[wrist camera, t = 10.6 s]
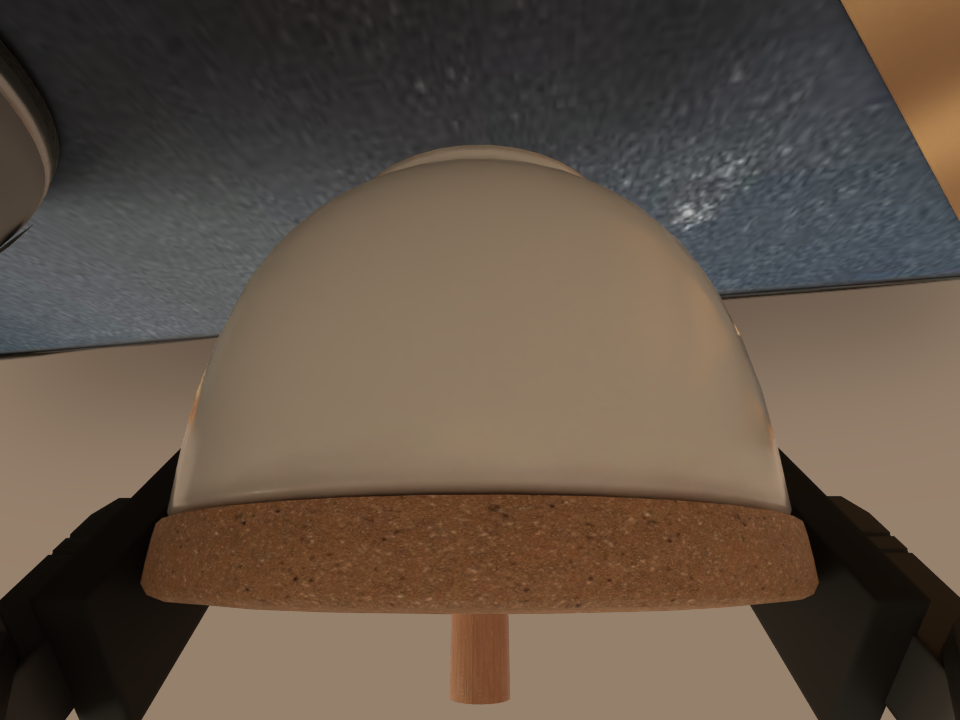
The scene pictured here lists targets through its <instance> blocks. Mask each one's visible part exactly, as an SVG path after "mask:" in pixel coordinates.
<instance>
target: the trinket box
mask: <svg viewBox="0 0 960 720" xmlns="http://www.w3.org/2000/svg"><path fill="white" fill-rule="evenodd" d="M791 510H792V509H791V505H790V500H789V496H788V491H787V487H786V482H785V478H784V473H783V469H782V464H781V460H780V455H779V451H778V446H777V442H776V439H775V435H774V432H773V428H772V425H771V421H770V417H769V414H768V410H767V407H766V403H765V399H764V396H763V392H762V389H761V386H760V384H759V381H758V379H757V376H756V373H755V371H754V368H753V366H752V363H751V361H750V358H749V355H748V353H747V350H746V348H745V345H744V343H743V340H742V338H741V335H740V333H739V332H738V330H737V328H736V326H735V324H734V322H733V320H732V318H731V316H730V315H729V313H728V311H727V309H726V307H725V305H724V303H723V301H722V299H721V297H720V296H719V294H718V292H717V290H716V289H715V287H714V286H713V284H712V283H711V281H710V280H709V278H708V277H707V275H706V274H705V272H704V271H703V270H702V268H701V267H700V266H699V265H698V263H697V262H696V261H695V260H694V258H693V257H692V256H691V255H690V253H689V252H688V251H687V250H686V248H685V247H684V246H683V245H682V243H681V242H680V241H679V240H678V239H676V238H675V237H674V236H673V235H672V234H671V233H670V232H668V231H667V230H666V229H665V228H664V227H663V226H662V225H660V224H659V223H658V222H657V221H656V220H654V219H653V218H652V217H651V216H650V215H648V214H647V213H646V212H645V211H644V210H642V209H641V208H640V207H639V206H637V205H636V204H634V203H632V202H631V201H629V200H627V199H625V198H624V197H622V196H620V195H618V194H617V193H615V192H613V191H611V190H610V189H607V188H605V187H603V186H601V185H599V184H597V183H595V182H593V181H590V180H588V179H585V178H584V177H583V176H582V175H580V174H579V173H578V172H577V171H575V170H573V169H572V168H570V167H568V166H566V165H565V164H563V163H561V162H559V161H557V160H554V159H552V158H549V157H547V156H544V155H542V154H539V153H535V152H531V151H527V150H523V149H518V148H514V147H505V146H495V145H462V146H454V147H447V148H440V149H436V150H432V151H428V152H425V153H421V154H417V155H414V156H412V157H410V158H407V159H405V160H403V161H400V162H398V163H396V164H394V165H392V166H391V167H389V168H388V169H386V170H384V171H383V172H381V173H380V174H378V175H377V176H376V177H375V178H374V179H372V180H370V181H368V182H365V183H363V184H360V185H358V186H356V187H354V188H352V189H350V190H348V191H346V192H344V193H342V194H340V195H338V196H337V197H335V198H334V199H332V200H331V201H329V202H327V203H326V204H324V205H323V206H321V207H320V208H318V209H316V210H315V211H314V212H313V213H312V214H310V215H309V216H308V217H307V218H305V219H304V220H303V221H302V222H301V223H299V224H298V225H297V226H296V227H295V228H293V229H292V230H291V231H290V232H289V233H288V234H287V235H286V236H285V237H284V238H283V239H282V240H281V241H280V242H279V243H278V244H277V245H276V246H275V247H274V248H273V250H272V251H271V252H270V253H269V255H268V256H267V257H266V258H265V260H264V261H263V262H262V263H261V265H260V266H259V267H258V269H257V270H256V271H255V272H254V274H253V275H252V276H251V277H250V279H249V281H248V283H247V284H246V286H245V288H244V290H243V292H242V294H241V296H240V297H239V299H238V301H237V303H236V305H235V307H234V309H233V311H232V313H231V315H230V316H229V318H228V320H227V322H226V324H225V326H224V328H223V330H222V332H221V334H220V335H219V337H218V339H217V341H216V344H215V346H214V349H213V352H212V354H211V357H210V359H209V362H208V365H207V367H206V370H205V372H204V375H203V377H202V380H201V383H200V385H199V388H198V390H197V393H196V396H195V400H194V403H193V407H192V411H191V414H190V418H189V422H188V425H187V429H186V433H185V436H184V440H183V443H182V447H181V451H180V455H179V460H178V464H177V469H176V474H175V478H174V483H173V487H172V492H171V496H170V501H169V505H168V510H167V513H168V517H164V518H162V519H161V520H159V521H158V522H157V523H156V525H155V528H154V531H153V533H152V536H151V540H150V544H149V548H148V552H147V556H146V560H145V565H144V569H143V574H142V579H141V583H140V584H141V585H142V587H143V589H144V591H145V593H146V595H148V596H151V597H153V598H156V599H158V600H161V601H163V602H174V603H186V604H198V605H210V606H221V607H232V608H243V609H257V610H279V611H305V612H337V613H411V614H451V666H450V699H451V700H452V701H455V702H459V703H465V704H494V703H501V702H505V701H507V700H509V699H510V672H509V622H508V614H555V613H598V612H639V611H672V610H689V609H706V608H721V607H733V606H744V605H754V604H765V603H776V602H786V601H794V600H802V599H804V598H806V597H808V596H811V595H813V594H814V593H815V590H816V588H817V586H818V583H819V581H818V576H817V572H816V567H815V562H814V558H813V554H812V550H811V546H810V542H809V538H808V535H807V532H806V529H805V526H804V523H803V521H802V520H800V519H798V518H796V517H795V516H792V515H791Z"/></svg>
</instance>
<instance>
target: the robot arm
mask: <svg viewBox="0 0 960 720" xmlns="http://www.w3.org/2000/svg"><path fill="white" fill-rule="evenodd" d="M59 149H60V146H59V140H58V135H57V131H56V128H55V125H54V122H53V119H52V116H51V114H50V112H49V110H48V108H47V106H46V104H45V102H44V100H43V98H42V96H41V95H40V93H39V91H38V90H37V88H36V86H35V85H34V83H33V81H32V80H31V78H30V77H29V76H28V74H27V73H26V71H25V70H24V69H23V67H22V66H21V64H20V63H19V62H18V60H17V59H16V58H15V56H14V55H13V54H12V53H11V52H10V50H9V49H8V48H7V47H6V46H5V44H4V43H3V42H2V41H1V40H0V247H1V246H2V245H3V244H4V243H5V242H6V241H8V240H9V239H10V238H11V237H12V236H13V235H14V234H15V233H17V232H18V231H19V230H20V229H21V228H22V227H23V226H24V225H25V224H26V223H27V222H28V221H29V219H30V218H31V217H32V215H33V214H34V212H35V211H36V209H37V208H38V207H39V206H40V205H41V203H42V201H43V199H44V198H45V196H46V193H47V191H48V189H49V186H50V184H51V181H52V179H53V177H54V174H55V172H56V170H57V166H58V162H59ZM33 225H34V224H33ZM29 228H30V227H29ZM29 228H28V229H29ZM28 229H26V230H25V231H24V232H22V233H21V234H19V235H18V236H17V237H15V238H14V239H12V240H11V241H10V242H8V243H7V244H5V245H4V246H3V247H1V248H0V252H2V251H3V250H5V249H6V248H7V247H9V246H10V245H11V244H12V243H13V242H15V241H16V240H17V239H18V238H19V237H20V236H21V235H22V234H23V233H25V232H26V231H27V230H28ZM180 451H181V449H180V450H179V451H178V452H177V453H176V454H175V455H174V456H173V457H172V458H171V459H170V460H169V461H168V462H167V463H166V464H165V465H164V466H163V467H162V468H161V469H160V470H159V471H158V472H157V473H156V474H155V475H154V476H153V477H152V478H151V479H150V480H149V481H148V482H147V483H146V484H145V485H144V486H143V487H142V488H141V489H140V490H139V491H138V492H137V493H136V494H135V495H134V496H133V497H132V498H118V499H117V500H115V501H113V502H112V503H110V504H108V505H106V506H105V507H103V508H101V509H100V510H98V511H96V512H95V513H93V514H91V515H90V516H89V517H88V518H87V519H86V520H85V521H84V522H83V523H82V524H81V525H80V526H79V527H77V528H76V529H75V530H74V531H73V532H72V533H71V534H70V538H66V539H65V540H64V541H63V542H61V543H60V544H59V545H58V546H57V547H56V548H55V549H54V550H53V553H52V555H48V556H47V557H45V558H44V559H43V560H42V561H41V562H40V563H39V564H38V565H37V566H36V567H35V568H34V569H33V570H32V571H31V572H29V573H28V574H27V575H26V576H25V577H24V578H23V579H22V580H21V581H20V582H19V583H18V584H17V585H16V586H15V587H13V588H12V589H11V590H10V591H9V592H8V593H7V594H6V595H5V596H4V597H3V598H2V599H1V600H0V720H65V719H66V718H67V717H68V715H69V714H70V713H71V711H72V710H73V708H74V709H75V711H76V713H77V715H78V718H79V720H142V718H143V716H144V715H145V713H146V711H147V710H148V708H149V706H150V705H151V703H152V701H153V699H154V698H155V696H156V694H157V693H158V691H159V689H160V688H161V686H162V684H163V683H164V681H165V679H166V678H167V676H168V674H169V673H170V671H171V669H172V667H173V666H174V664H175V662H176V661H177V659H178V657H179V656H180V654H181V652H182V651H183V649H184V647H185V646H186V644H187V642H188V641H189V639H190V637H191V635H192V634H193V632H194V630H195V629H196V627H197V625H198V624H199V622H200V620H201V619H202V617H203V615H204V613H205V612H206V610H207V608H208V607H209V605H198V604H186V603H174V602H163V601H161V600H158V599H156V598H153V597H151V596H148V595H146V593H145V591H144V589H143V587H142V585H141V584H140V583H141V579H142V574H143V569H144V565H145V560H146V556H147V552H148V548H149V544H150V540H151V536H152V533H153V531H154V528H155V525H156V523H157V522H158V521H159V520H161V519H162V518H164V517H168V513H167V510H168V505H169V501H170V496H171V492H172V487H173V483H174V478H175V474H176V469H177V464H178V460H179V455H180ZM778 451H779V455H780V460H781V464H782V469H783V473H784V478H785V482H786V487H787V491H788V496H789V500H790V505H791V509H792V510H791V515H792V516H795V517H796V518H798V519H800V520H802V521H803V523H804V526H805V529H806V532H807V535H808V538H809V542H810V546H811V550H812V554H813V558H814V562H815V567H816V572H817V576H818V581H819V583H818V586H817V588H816V590H815V593H814V594H813V595H811V596H808V597H806V598H804V599H802V600H794V601H786V602H776V603H765V604H754V605H750V606H751V607H752V609H753V611H754V612H755V614H756V616H757V617H758V619H759V621H760V623H761V624H762V626H763V628H764V629H765V631H766V633H767V634H768V636H769V638H770V639H771V641H772V643H773V644H774V646H775V648H776V649H777V651H778V653H779V654H780V656H781V658H782V660H783V661H784V663H785V665H786V666H787V668H788V670H789V671H790V673H791V675H792V676H793V678H794V680H795V682H796V683H797V685H798V687H799V688H800V690H801V692H802V693H803V695H804V697H805V698H806V700H807V702H808V703H809V705H810V707H811V708H812V710H813V712H814V714H815V715H816V717H817V719H818V720H880V719H881V717H882V714H883V712H884V710H885V707H886V706H887V707H888V709H889V710H890V711H891V713H892V714H893V716H894V717H895V718H896V720H960V597H959V596H958V595H957V594H956V593H954V592H953V591H952V590H951V589H950V588H949V587H948V586H947V585H946V584H945V583H944V582H943V581H942V580H940V579H939V578H938V577H937V576H936V575H935V574H934V573H933V572H932V571H931V570H930V569H929V568H928V567H927V566H925V565H924V564H923V563H922V562H921V561H920V560H919V559H918V558H917V557H916V556H915V555H914V554H913V553H908V551H907V548H906V547H905V546H904V545H903V544H902V543H901V542H900V541H899V540H898V539H897V538H895V537H894V536H890V532H889V531H888V530H887V529H886V528H885V527H884V526H883V525H882V524H881V523H879V522H878V521H877V520H876V519H875V518H874V517H873V516H872V515H871V514H870V513H868V512H867V511H865V510H863V509H862V508H860V507H858V506H857V505H855V504H853V503H852V502H850V501H848V500H846V499H845V498H843V497H841V496H826V495H825V494H824V493H823V492H822V491H821V490H820V489H819V488H818V487H817V486H816V485H815V484H814V483H813V482H812V481H811V480H810V479H809V478H808V477H807V476H806V475H805V474H804V473H803V472H802V471H801V470H800V469H799V468H798V467H797V466H796V465H795V464H794V463H793V462H792V461H791V460H790V459H789V458H788V457H787V456H786V455H785V454H784V453H783V452H782V451H781V450H780V449H779V448H778Z"/></svg>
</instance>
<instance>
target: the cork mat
mask: <svg viewBox="0 0 960 720" xmlns="http://www.w3.org/2000/svg"><path fill="white" fill-rule="evenodd" d="M841 2H842V4H843V6H844V8H845V10H846V11H847V13H848V15H849V17H850V19H851V21H852V23H853V24H854V26H855V28H856V30H857V32H858V34H859V36H860V37H861V39H862V41H863V43H864V45H865V47H866V49H867V50H868V52H869V54H870V56H871V58H872V60H873V62H874V63H875V65H876V67H877V69H878V71H879V73H880V75H881V76H882V78H883V80H884V82H885V84H886V86H887V88H888V89H889V91H890V93H891V95H892V97H893V99H894V101H895V102H896V104H897V106H898V108H899V110H900V112H901V114H902V115H903V117H904V119H905V121H906V123H907V125H908V127H909V128H910V130H911V132H912V134H913V136H914V138H915V140H916V141H917V143H918V145H919V147H920V149H921V151H922V153H923V154H924V156H925V158H926V160H927V162H928V164H929V166H930V167H931V169H932V171H933V173H934V175H935V177H936V179H937V180H938V182H939V184H940V186H941V188H942V190H943V192H944V193H945V195H946V197H947V199H948V201H949V203H950V205H951V206H952V208H953V210H954V212H955V214H956V216H957V218H958V219H959V221H960V0H841Z"/></svg>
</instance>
